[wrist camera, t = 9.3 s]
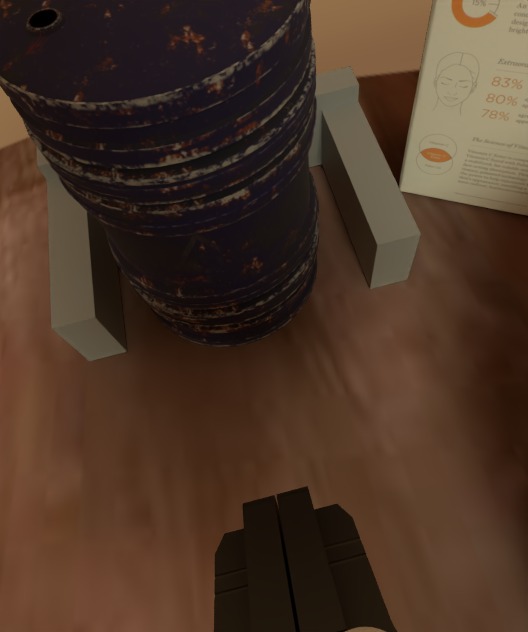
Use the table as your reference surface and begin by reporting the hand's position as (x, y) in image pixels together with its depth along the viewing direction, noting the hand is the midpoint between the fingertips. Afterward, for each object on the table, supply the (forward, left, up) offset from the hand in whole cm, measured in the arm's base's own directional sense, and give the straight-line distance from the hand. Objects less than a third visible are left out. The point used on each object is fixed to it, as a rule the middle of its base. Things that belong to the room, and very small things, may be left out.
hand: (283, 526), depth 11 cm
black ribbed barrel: (0, +14, -11) cm, 18 cm away
